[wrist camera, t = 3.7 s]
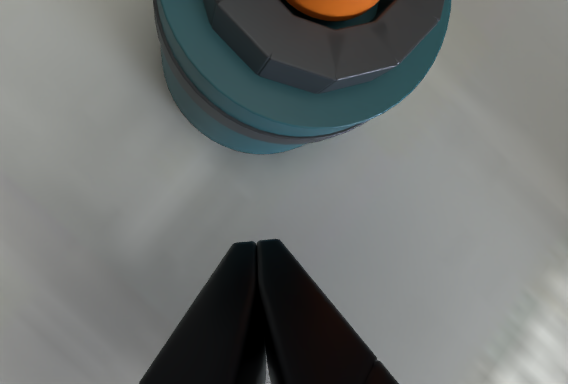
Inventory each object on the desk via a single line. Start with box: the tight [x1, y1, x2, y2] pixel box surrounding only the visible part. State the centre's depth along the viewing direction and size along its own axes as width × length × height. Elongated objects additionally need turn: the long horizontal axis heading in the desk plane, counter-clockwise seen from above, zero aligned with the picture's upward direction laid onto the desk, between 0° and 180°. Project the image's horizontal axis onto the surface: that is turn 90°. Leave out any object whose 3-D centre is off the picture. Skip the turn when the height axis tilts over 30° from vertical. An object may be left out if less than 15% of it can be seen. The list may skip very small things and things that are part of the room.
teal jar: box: [153, 0, 451, 154], centre depth 16 cm, size 9×9×8 cm
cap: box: [203, 0, 445, 94], centre depth 16 cm, size 6×6×10 cm
